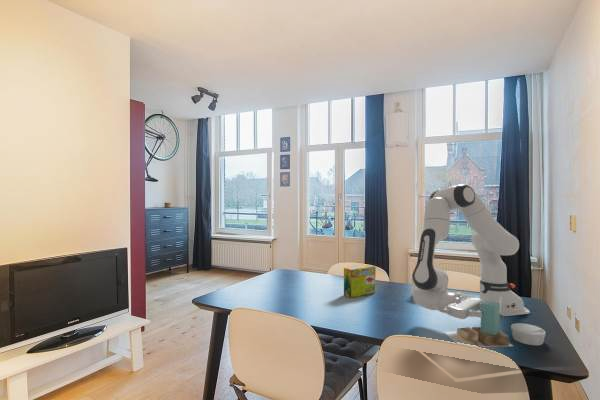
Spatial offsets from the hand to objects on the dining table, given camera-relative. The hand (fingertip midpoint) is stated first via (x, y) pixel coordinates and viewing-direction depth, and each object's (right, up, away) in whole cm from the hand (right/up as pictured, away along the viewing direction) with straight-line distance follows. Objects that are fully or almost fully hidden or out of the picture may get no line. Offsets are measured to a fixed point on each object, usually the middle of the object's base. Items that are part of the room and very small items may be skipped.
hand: (486, 312), depth 131 cm
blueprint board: (-3, -11, +1) cm, 12 cm away
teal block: (+1, -7, -1) cm, 7 cm away
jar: (-5, -11, +60) cm, 61 cm away
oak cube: (-9, -11, -3) cm, 15 cm away
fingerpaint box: (-38, -11, +64) cm, 75 cm away
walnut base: (+1, -11, -1) cm, 11 cm away
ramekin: (+16, -12, 0) cm, 20 cm away
